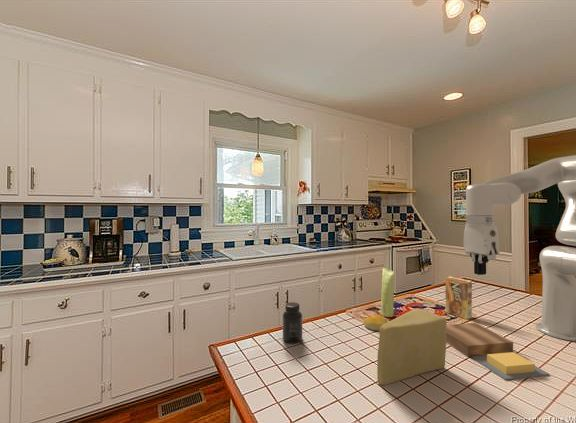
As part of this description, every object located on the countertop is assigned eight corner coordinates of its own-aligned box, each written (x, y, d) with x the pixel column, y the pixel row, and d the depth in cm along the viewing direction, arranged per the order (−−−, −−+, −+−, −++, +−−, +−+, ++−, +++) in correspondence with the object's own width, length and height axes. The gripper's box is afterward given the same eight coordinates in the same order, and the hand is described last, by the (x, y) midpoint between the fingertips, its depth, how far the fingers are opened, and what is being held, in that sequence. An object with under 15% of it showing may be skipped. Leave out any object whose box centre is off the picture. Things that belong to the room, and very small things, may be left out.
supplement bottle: (305, 336, 95) (305, 302, 94) (297, 345, 88) (297, 309, 88) (287, 332, 97) (287, 299, 97) (279, 341, 91) (279, 306, 91)
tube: (396, 314, 114) (396, 268, 114) (393, 318, 110) (394, 271, 109) (382, 311, 117) (382, 267, 117) (379, 315, 113) (379, 269, 112)
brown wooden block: (475, 332, 98) (475, 322, 98) (512, 353, 84) (513, 342, 84) (435, 335, 96) (435, 325, 96) (467, 357, 82) (468, 345, 82)
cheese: (395, 396, 65) (395, 335, 65) (365, 374, 73) (365, 320, 73) (447, 369, 76) (448, 316, 76) (415, 352, 85) (416, 305, 84)
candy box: (472, 317, 111) (472, 280, 111) (467, 319, 109) (468, 282, 109) (449, 310, 119) (450, 276, 118) (444, 312, 116) (445, 277, 116)
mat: (511, 354, 84) (511, 352, 84) (549, 375, 73) (549, 373, 73) (471, 357, 82) (471, 356, 82) (505, 380, 71) (505, 378, 71)
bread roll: (359, 325, 104) (359, 315, 104) (375, 320, 109) (375, 310, 109) (376, 334, 97) (376, 323, 97) (392, 328, 102) (392, 317, 102)
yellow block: (534, 363, 74) (534, 371, 74) (513, 352, 80) (513, 359, 80) (506, 366, 73) (505, 374, 73) (486, 354, 79) (486, 361, 79)
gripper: (510, 221, 85) (511, 279, 85) (470, 219, 99) (471, 268, 100) (490, 222, 83) (490, 281, 84) (452, 219, 98) (453, 269, 99)
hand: (480, 273), depth 92 cm, fingers closed
